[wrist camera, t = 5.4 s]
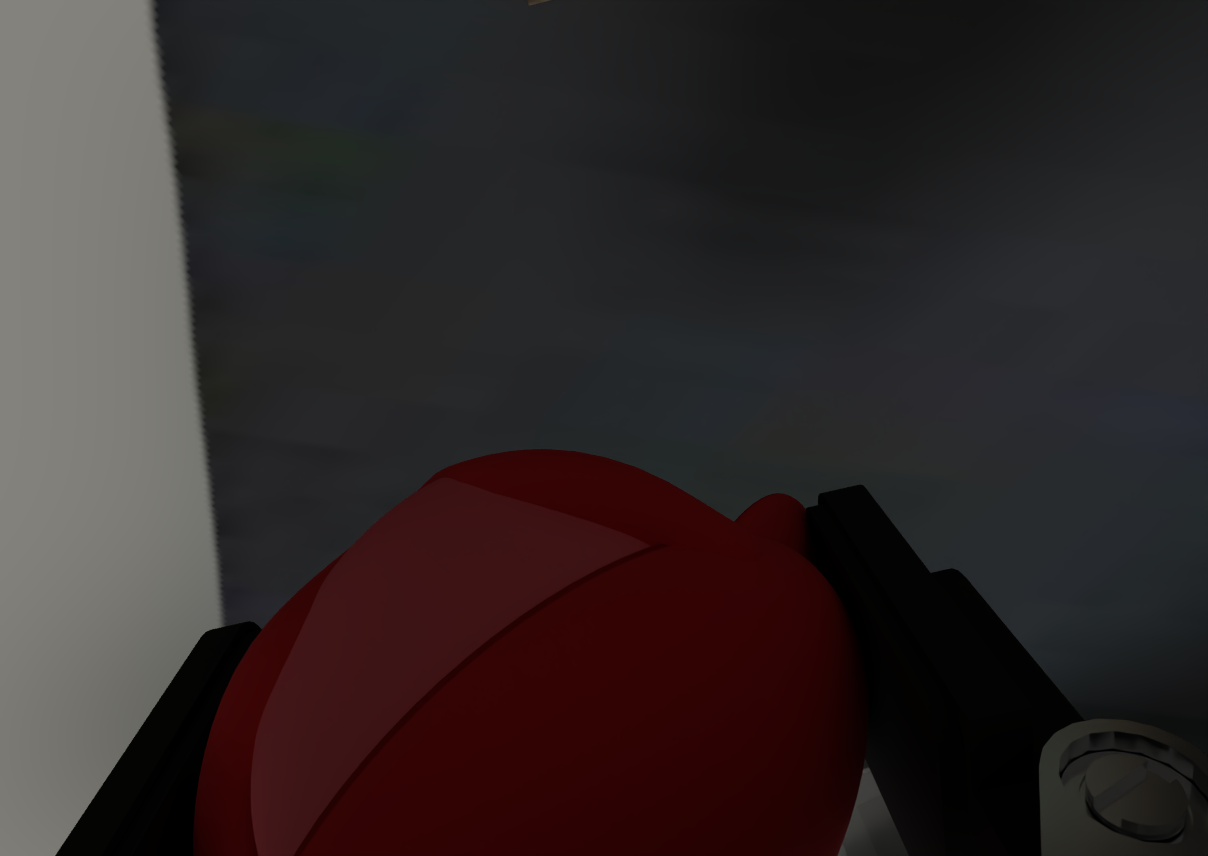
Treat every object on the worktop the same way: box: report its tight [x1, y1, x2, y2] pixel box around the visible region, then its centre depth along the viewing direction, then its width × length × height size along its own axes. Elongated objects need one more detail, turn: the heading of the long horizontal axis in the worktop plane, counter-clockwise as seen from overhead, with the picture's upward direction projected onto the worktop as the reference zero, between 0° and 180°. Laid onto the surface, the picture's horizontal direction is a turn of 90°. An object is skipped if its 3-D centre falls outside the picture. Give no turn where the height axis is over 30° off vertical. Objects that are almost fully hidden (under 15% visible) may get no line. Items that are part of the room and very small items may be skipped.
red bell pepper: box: [193, 449, 869, 856], centre depth 9 cm, size 8×6×6 cm
